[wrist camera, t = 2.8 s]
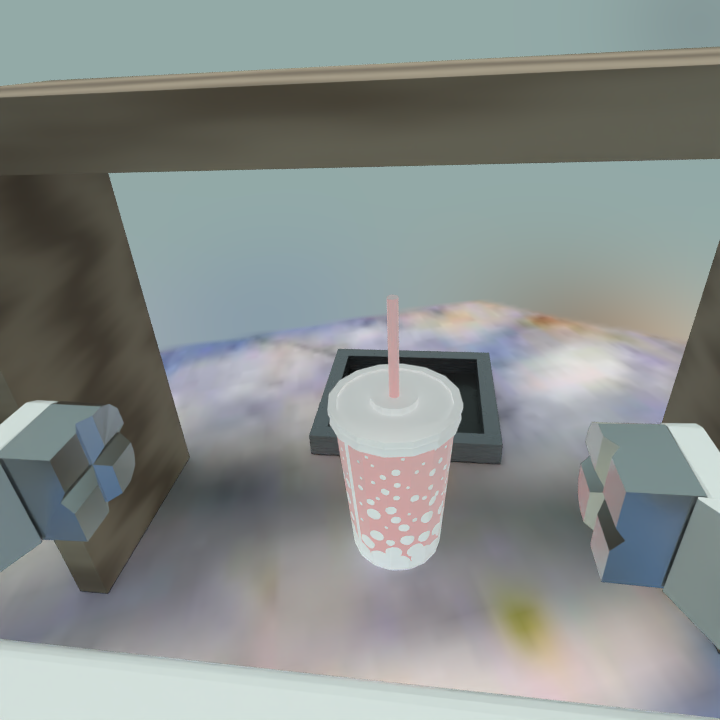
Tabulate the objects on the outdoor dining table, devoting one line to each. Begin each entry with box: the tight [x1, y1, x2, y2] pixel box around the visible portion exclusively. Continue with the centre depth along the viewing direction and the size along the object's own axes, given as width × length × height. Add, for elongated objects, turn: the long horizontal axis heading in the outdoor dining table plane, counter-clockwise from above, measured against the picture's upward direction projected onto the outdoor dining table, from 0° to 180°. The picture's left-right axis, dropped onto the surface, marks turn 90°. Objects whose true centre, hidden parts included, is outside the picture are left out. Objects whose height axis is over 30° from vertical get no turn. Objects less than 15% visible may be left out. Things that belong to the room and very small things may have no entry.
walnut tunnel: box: [0, 47, 720, 653], centre depth 23 cm, size 10×31×22 cm, turn 82°
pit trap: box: [309, 349, 502, 464], centre depth 38 cm, size 11×12×2 cm
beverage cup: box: [327, 295, 463, 570], centre depth 25 cm, size 6×6×14 cm
